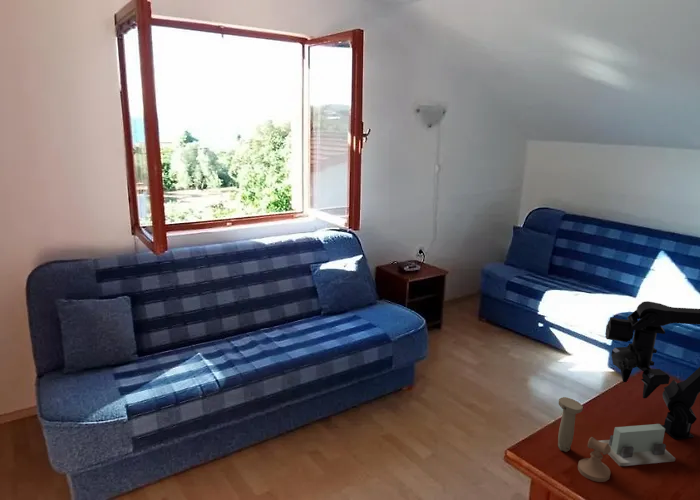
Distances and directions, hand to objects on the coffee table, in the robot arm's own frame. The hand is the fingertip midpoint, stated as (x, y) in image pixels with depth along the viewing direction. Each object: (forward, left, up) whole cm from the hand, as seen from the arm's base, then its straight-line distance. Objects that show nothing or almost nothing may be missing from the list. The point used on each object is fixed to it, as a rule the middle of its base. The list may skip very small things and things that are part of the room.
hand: (634, 389), depth 160 cm
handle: (+27, +9, -12) cm, 31 cm away
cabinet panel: (+7, +13, -12) cm, 19 cm away
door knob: (+24, +19, -12) cm, 33 cm away
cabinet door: (+7, +13, -11) cm, 18 cm away
